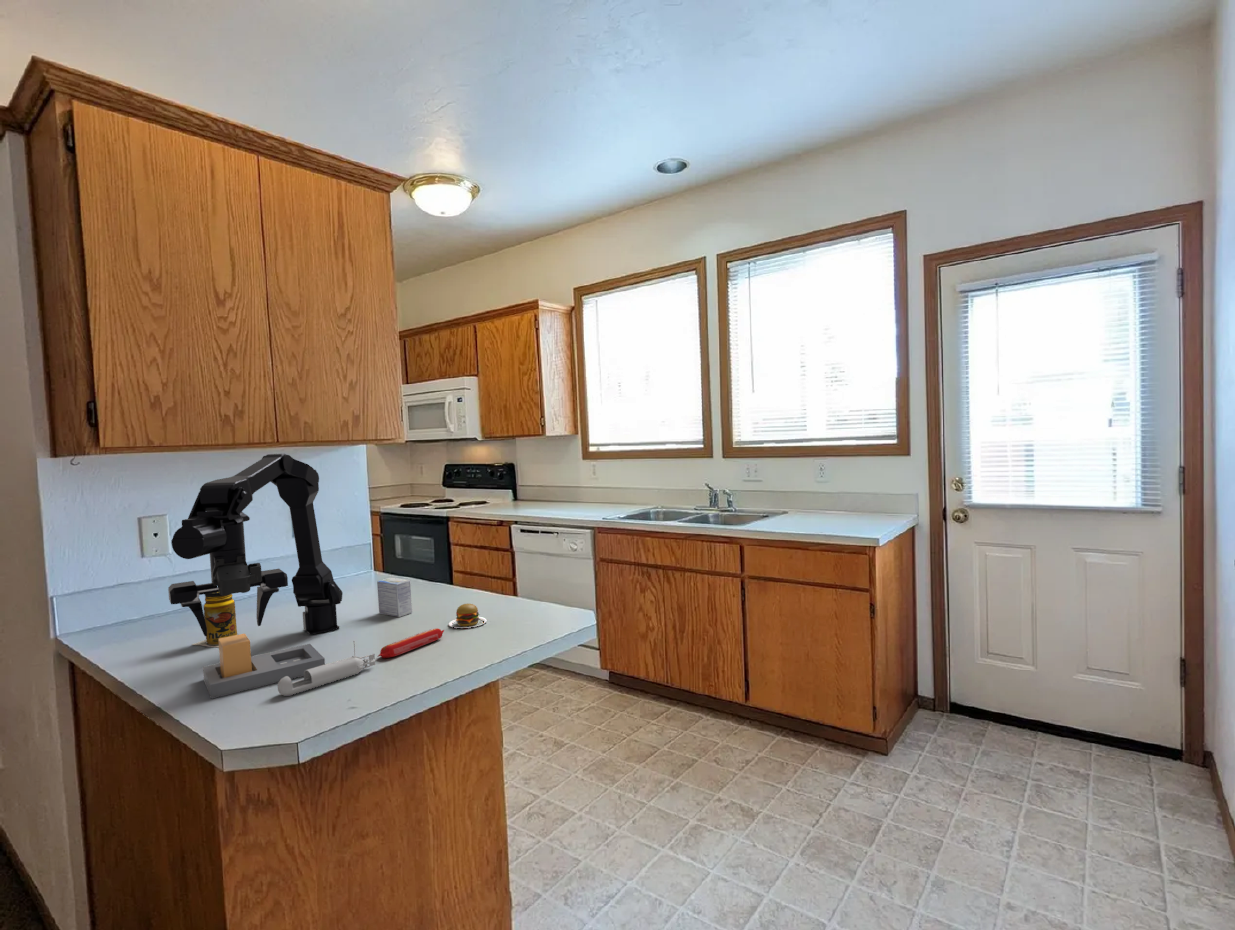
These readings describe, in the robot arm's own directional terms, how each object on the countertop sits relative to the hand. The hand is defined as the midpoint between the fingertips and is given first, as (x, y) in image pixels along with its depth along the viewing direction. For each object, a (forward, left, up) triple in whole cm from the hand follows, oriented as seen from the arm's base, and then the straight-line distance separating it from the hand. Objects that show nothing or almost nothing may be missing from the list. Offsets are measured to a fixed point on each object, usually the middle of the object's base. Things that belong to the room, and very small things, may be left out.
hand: (232, 630), depth 121 cm
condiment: (-1, -32, -10) cm, 34 cm away
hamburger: (-49, -3, -11) cm, 50 cm away
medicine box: (-39, -25, -10) cm, 47 cm away
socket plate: (-5, 0, -10) cm, 11 cm away
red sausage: (-32, +5, -10) cm, 34 cm away
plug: (0, -2, -9) cm, 9 cm away
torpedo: (-14, +12, -10) cm, 21 cm away
